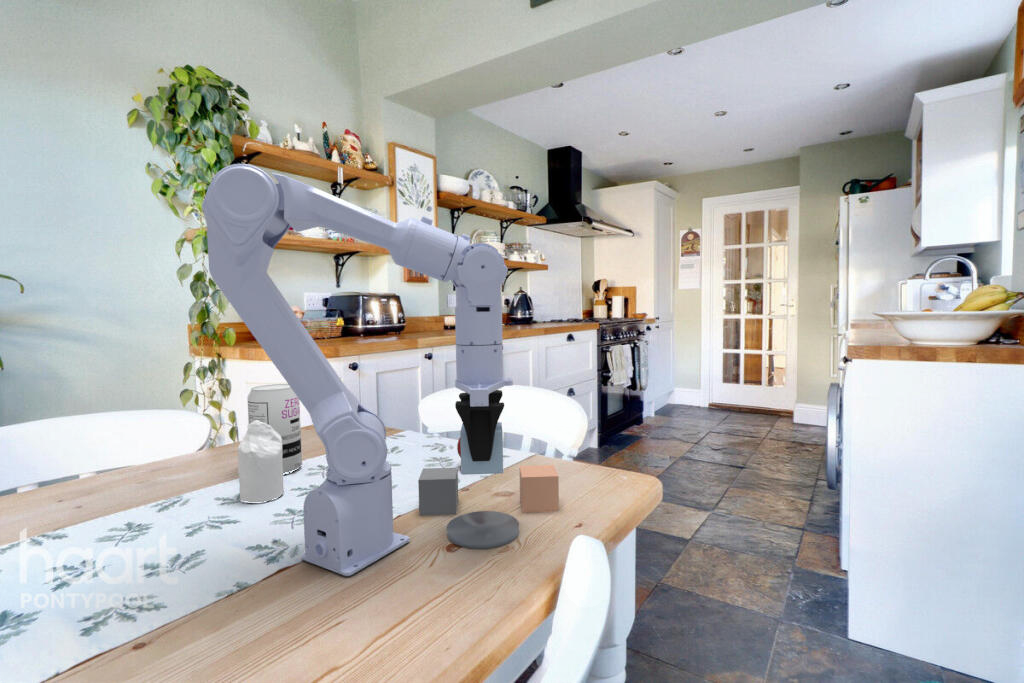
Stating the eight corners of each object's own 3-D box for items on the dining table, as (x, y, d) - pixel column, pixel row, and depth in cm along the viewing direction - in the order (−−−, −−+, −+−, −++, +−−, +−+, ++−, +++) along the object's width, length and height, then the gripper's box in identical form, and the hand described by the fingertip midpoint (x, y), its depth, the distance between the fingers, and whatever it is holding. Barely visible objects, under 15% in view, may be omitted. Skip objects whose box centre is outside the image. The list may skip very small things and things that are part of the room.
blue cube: (503, 473, 59) (502, 432, 59) (461, 474, 59) (460, 433, 58) (502, 460, 64) (501, 422, 64) (463, 461, 64) (462, 423, 63)
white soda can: (255, 466, 90) (251, 385, 89) (304, 461, 93) (301, 382, 92) (246, 480, 83) (241, 391, 82) (299, 475, 85) (296, 388, 84)
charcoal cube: (456, 514, 67) (455, 478, 67) (419, 516, 67) (418, 480, 67) (458, 501, 72) (457, 467, 72) (423, 502, 72) (423, 468, 72)
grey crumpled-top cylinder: (279, 413, 78) (282, 420, 73) (283, 488, 79) (285, 499, 74) (236, 418, 75) (235, 425, 70) (240, 495, 76) (239, 507, 71)
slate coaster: (493, 555, 56) (493, 548, 56) (431, 538, 60) (431, 531, 60) (532, 525, 63) (532, 519, 63) (474, 511, 68) (474, 506, 68)
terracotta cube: (558, 511, 68) (558, 476, 68) (522, 513, 68) (521, 477, 67) (553, 498, 73) (553, 464, 72) (520, 499, 73) (519, 465, 72)
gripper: (515, 347, 53) (517, 471, 54) (509, 340, 68) (510, 437, 69) (449, 349, 53) (452, 473, 54) (457, 341, 68) (460, 439, 68)
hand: (481, 453), depth 61 cm, fingers closed on blue cube, 5 cm apart
